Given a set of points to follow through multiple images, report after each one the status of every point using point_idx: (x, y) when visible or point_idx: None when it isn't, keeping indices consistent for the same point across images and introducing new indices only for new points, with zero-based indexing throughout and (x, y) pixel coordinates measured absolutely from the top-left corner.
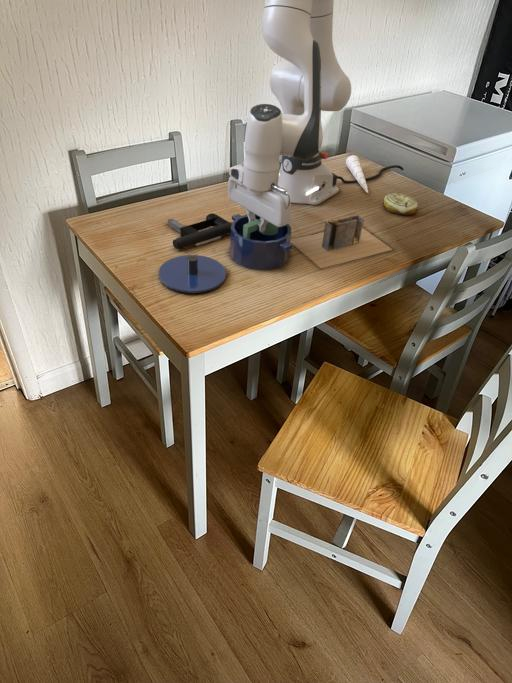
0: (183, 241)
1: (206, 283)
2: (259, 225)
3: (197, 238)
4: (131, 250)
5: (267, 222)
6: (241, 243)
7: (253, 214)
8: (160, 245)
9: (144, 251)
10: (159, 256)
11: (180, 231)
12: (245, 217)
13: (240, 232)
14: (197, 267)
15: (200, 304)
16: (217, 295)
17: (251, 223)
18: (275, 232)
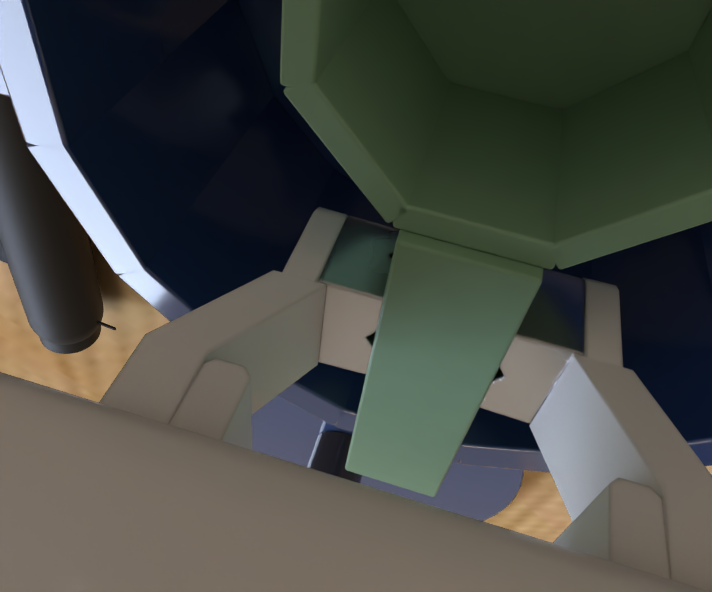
0: (75, 326)
1: (465, 486)
2: (536, 428)
3: (64, 248)
4: (20, 376)
5: (675, 448)
6: None
7: (260, 348)
8: (15, 299)
9: (46, 363)
10: (114, 366)
11: None
12: (43, 32)
13: (175, 24)
14: (356, 475)
15: (528, 535)
16: (555, 489)
17: (396, 420)
18: None
